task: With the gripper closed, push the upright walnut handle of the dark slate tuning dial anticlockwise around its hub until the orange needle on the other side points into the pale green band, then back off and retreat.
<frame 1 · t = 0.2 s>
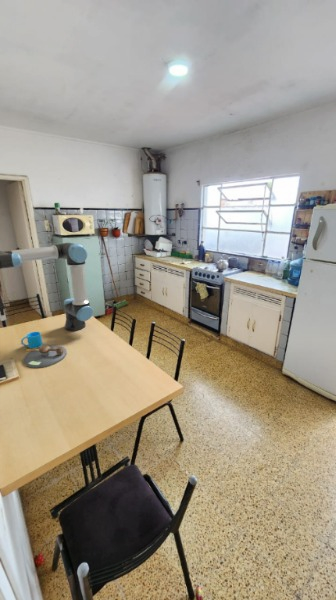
hand: (0, 316, 144), 28 cm above the table, fingers open, 13 cm apart
dial plate: (45, 356, 155), on the table
dial arm: (44, 351, 154), point 4 cm above the table, hinge at -45.0°
mug: (32, 346, 168), on the table
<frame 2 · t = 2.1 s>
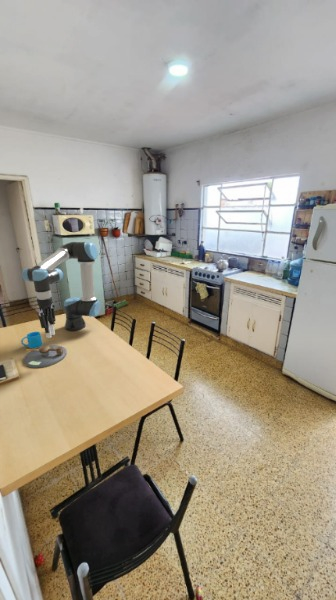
hand: (50, 335, 146), 17 cm above the table, fingers open, 3 cm apart
nothing on the table moved.
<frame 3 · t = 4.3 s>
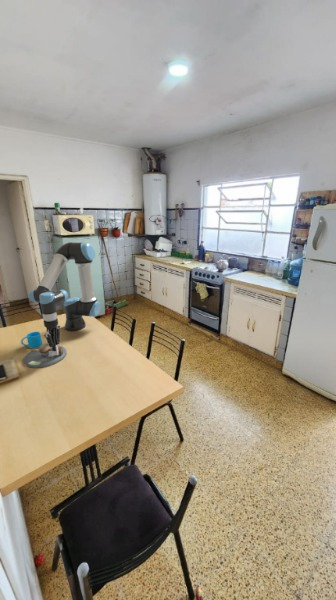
hand: (56, 354, 152), 3 cm above the table, fingers closed
dial arm: (44, 351, 154), point 4 cm above the table, hinge at -44.8°, touching gripper
everything else where it was.
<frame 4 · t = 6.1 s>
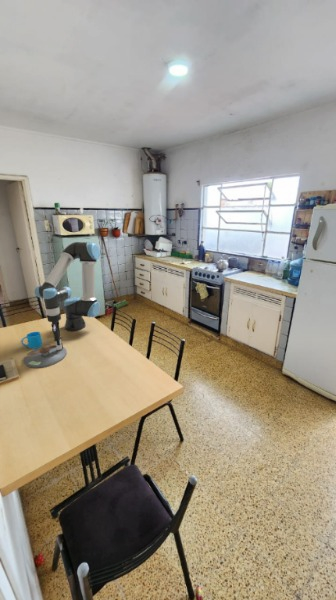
hand: (59, 349, 158), 3 cm above the table, fingers closed
dial arm: (44, 351, 154), point 4 cm above the table, hinge at -4.3°, touching gripper
everything else where it was.
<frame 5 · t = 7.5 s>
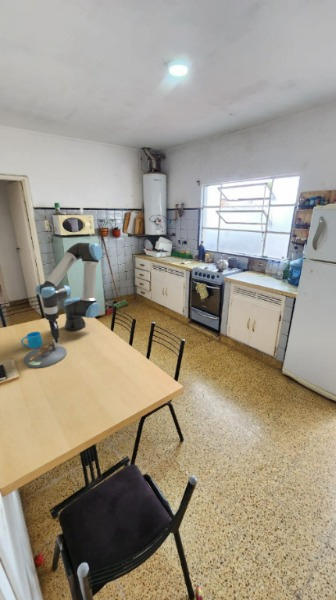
hand: (57, 346, 161), 3 cm above the table, fingers closed
dial arm: (44, 351, 154), point 4 cm above the table, hinge at 26.7°, touching gripper
everything else where it was.
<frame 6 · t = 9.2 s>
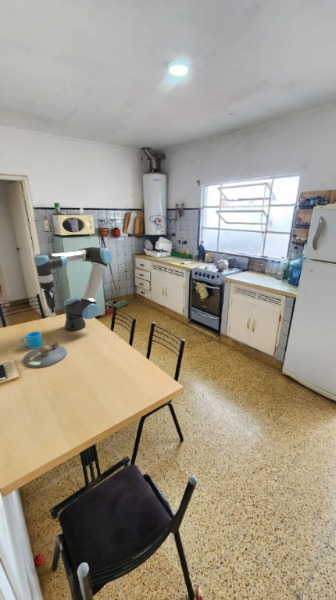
hand: (53, 316, 160), 21 cm above the table, fingers closed
dial arm: (44, 351, 154), point 4 cm above the table, hinge at 26.8°
everything else where it was.
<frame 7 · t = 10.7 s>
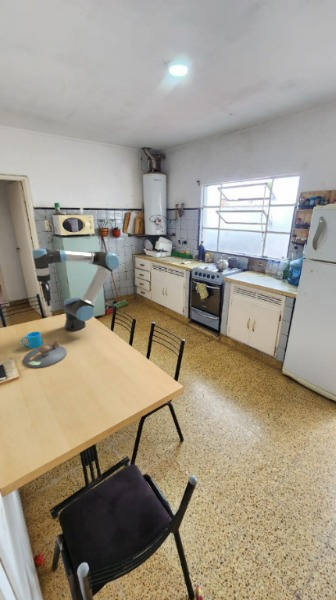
hand: (49, 309, 163), 24 cm above the table, fingers closed
nothing on the table moved.
at the end: dial arm at +27° (first picture: -45°) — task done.
